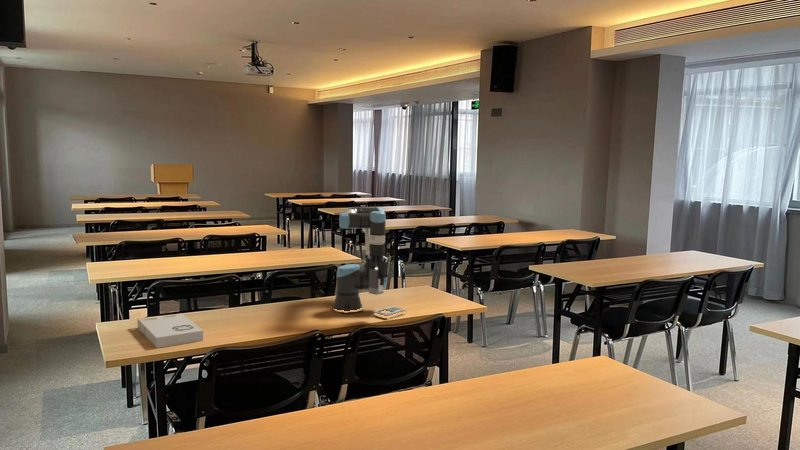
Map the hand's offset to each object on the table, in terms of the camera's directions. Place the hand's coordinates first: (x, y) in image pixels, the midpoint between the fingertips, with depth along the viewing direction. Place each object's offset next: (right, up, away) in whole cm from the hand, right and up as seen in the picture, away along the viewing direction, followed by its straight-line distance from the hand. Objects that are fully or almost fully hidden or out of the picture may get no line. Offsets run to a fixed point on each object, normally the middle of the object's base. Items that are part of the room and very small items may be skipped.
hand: (376, 290), depth 283 cm
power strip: (+6, -13, +10) cm, 18 cm away
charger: (0, -1, 0) cm, 1 cm away
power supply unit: (-89, -16, -30) cm, 95 cm away
